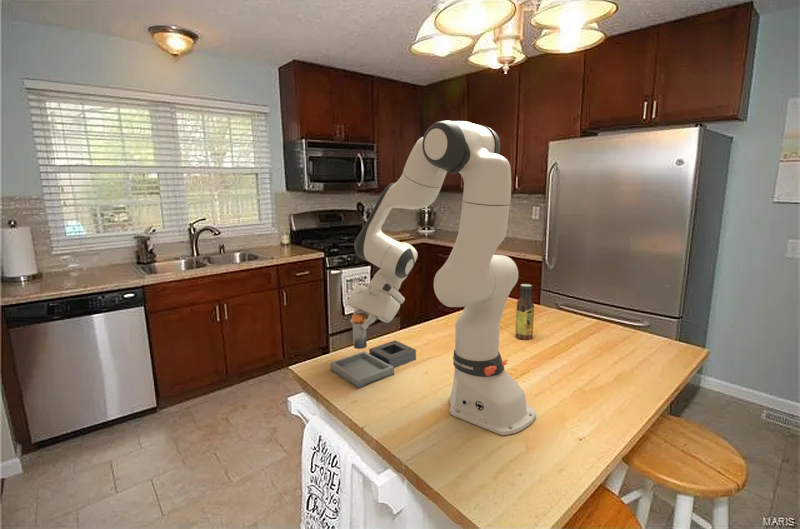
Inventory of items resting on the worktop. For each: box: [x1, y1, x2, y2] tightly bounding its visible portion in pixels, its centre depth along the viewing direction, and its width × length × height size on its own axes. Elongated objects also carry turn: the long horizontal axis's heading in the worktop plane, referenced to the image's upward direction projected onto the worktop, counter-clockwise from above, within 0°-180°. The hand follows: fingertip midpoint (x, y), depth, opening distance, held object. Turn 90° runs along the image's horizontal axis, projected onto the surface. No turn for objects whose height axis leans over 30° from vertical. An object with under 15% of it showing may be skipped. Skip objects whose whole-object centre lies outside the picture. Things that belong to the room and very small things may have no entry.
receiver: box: [368, 339, 417, 369], centre depth 135 cm, size 11×11×4 cm
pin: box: [351, 313, 368, 350], centre depth 124 cm, size 4×4×10 cm
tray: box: [329, 350, 395, 390], centre depth 127 cm, size 16×13×2 cm
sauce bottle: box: [514, 283, 535, 340], centre depth 149 cm, size 7×6×20 cm
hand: (357, 325), depth 123 cm, fingers closed on pin, 4 cm apart
